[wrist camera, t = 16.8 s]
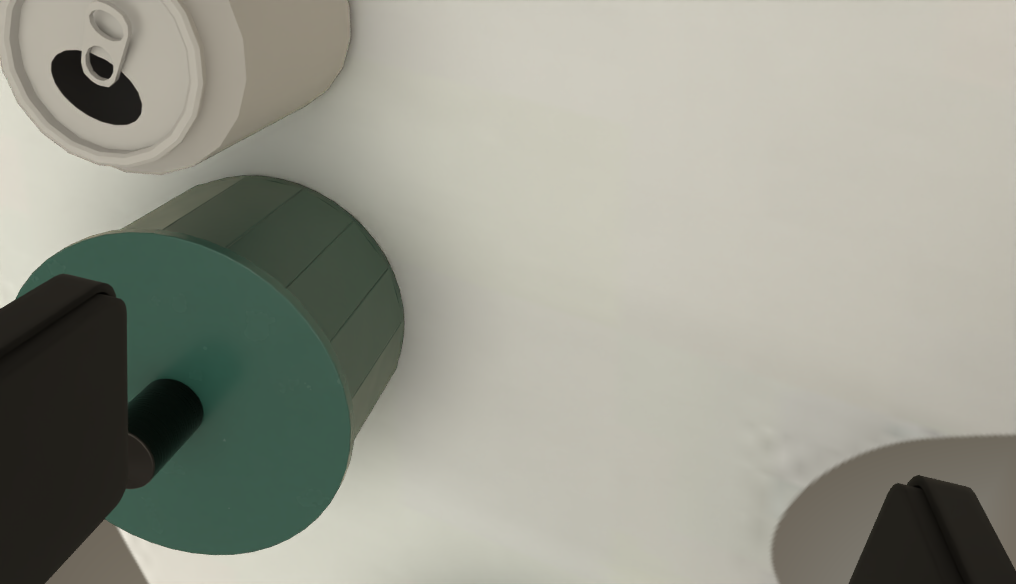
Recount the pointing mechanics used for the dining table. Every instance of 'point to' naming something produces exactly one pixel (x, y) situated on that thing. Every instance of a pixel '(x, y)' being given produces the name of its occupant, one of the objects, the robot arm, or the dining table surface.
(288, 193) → the pot
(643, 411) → the dining table surface
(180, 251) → the pot lid
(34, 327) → the robot arm
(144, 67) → the can
